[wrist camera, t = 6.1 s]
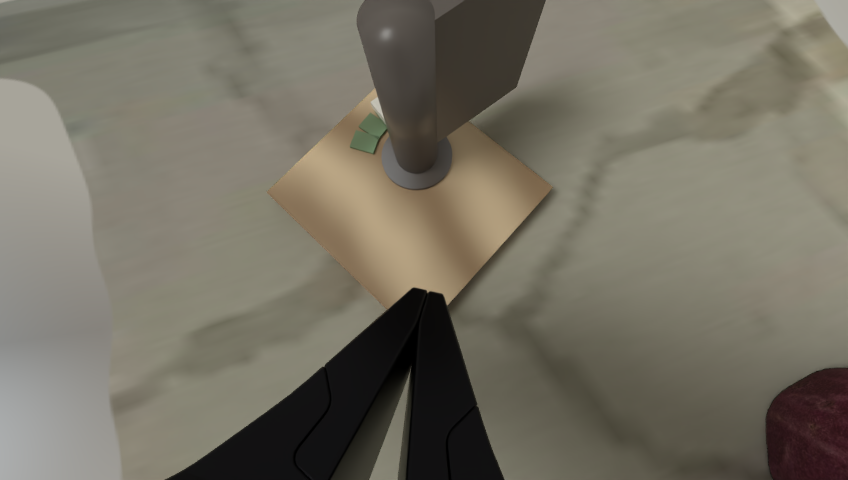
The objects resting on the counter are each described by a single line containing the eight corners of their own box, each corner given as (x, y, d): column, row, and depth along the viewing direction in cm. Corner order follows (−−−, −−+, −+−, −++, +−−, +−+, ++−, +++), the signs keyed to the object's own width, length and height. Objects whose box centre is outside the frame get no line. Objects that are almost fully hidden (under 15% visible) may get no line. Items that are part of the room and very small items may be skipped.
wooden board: (418, 337, 19) (417, 339, 18) (275, 198, 22) (263, 190, 20) (549, 190, 21) (558, 181, 19) (403, 75, 23) (400, 60, 22)
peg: (515, 107, 20) (577, -63, 11) (411, 181, 20) (386, 65, 10) (459, 48, 22) (474, -151, 12) (360, 116, 21) (295, -41, 12)
